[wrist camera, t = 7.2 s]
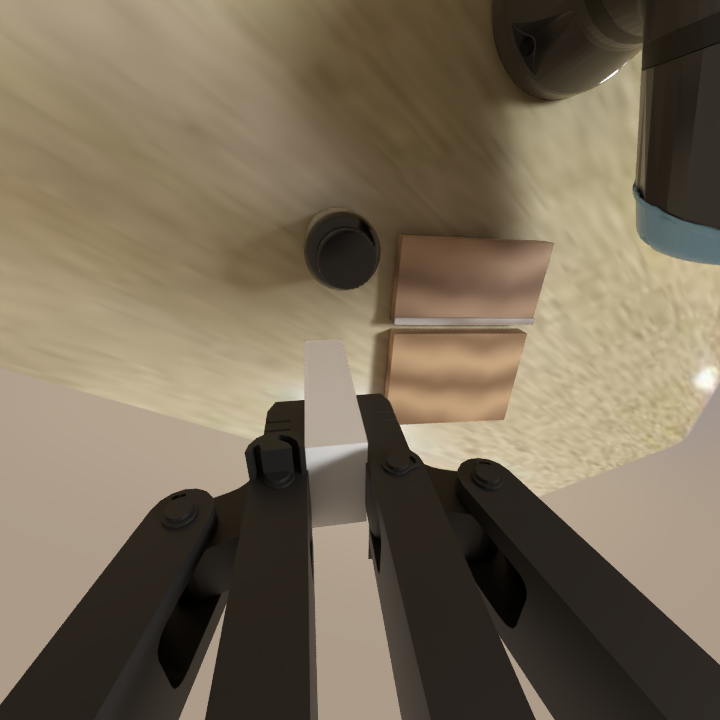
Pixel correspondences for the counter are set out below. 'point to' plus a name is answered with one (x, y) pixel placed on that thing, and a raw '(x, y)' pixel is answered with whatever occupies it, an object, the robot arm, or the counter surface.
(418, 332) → the oak plank
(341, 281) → the supplement bottle
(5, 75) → the counter surface
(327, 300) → the counter surface
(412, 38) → the counter surface
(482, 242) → the walnut board
